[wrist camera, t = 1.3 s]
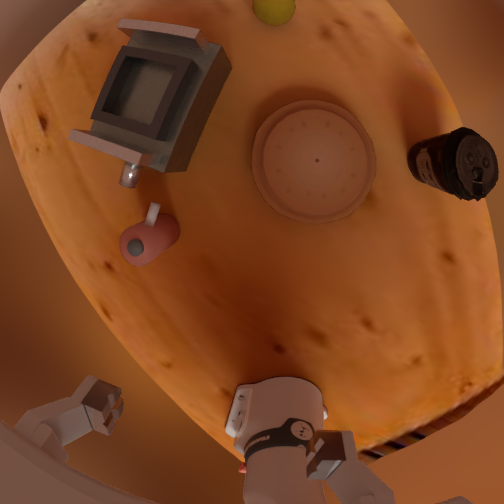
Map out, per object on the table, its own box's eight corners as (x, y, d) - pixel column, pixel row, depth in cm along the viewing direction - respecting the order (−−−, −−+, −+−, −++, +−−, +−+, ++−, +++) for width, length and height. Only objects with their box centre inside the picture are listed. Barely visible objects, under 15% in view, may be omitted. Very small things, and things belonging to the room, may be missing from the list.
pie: (350, 96, 32) (360, 87, 28) (377, 205, 36) (390, 211, 32) (240, 120, 35) (234, 113, 30) (270, 230, 39) (269, 239, 34)
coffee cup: (426, 204, 35) (478, 222, 23) (389, 164, 34) (436, 166, 22) (455, 162, 33) (510, 167, 21) (421, 122, 32) (473, 110, 20)
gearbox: (175, 198, 38) (131, 213, 26) (109, 170, 38) (52, 175, 25) (232, 67, 32) (211, 26, 20) (159, 49, 32) (117, 14, 20)
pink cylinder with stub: (173, 251, 41) (146, 274, 32) (146, 238, 40) (113, 257, 31) (191, 203, 38) (165, 215, 29) (161, 191, 38) (128, 199, 29)
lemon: (272, 40, 31) (270, 13, 23) (246, 17, 30) (240, -11, 22) (302, 22, 29) (306, -6, 22) (276, 0, 28) (275, -29, 21)
